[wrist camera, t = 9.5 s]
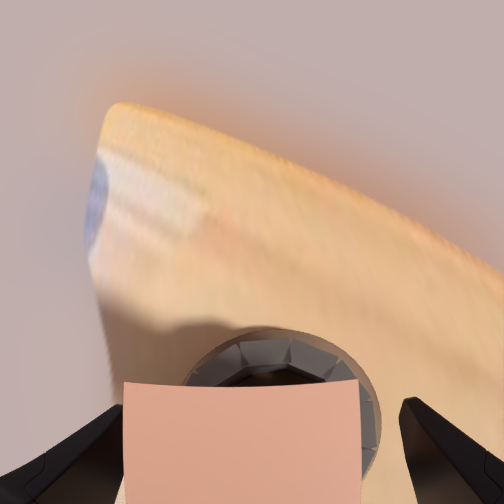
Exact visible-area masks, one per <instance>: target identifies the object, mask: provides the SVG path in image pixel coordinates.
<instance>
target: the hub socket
mask: <svg viewBox="0 0 504 504" xmlns="http://www.w3.org/2000/svg"><path fill="white" fill-rule="evenodd" d="M354 379H358V383H359V398H360V418H361V450H362V480H363V479H364V478H365V476H366V475H367V473H368V471H369V470H370V468H371V466H372V464H373V461H374V459H375V457H376V454H377V451H378V447H379V443H380V437H381V412H380V406H379V402H378V399H377V395H376V392H375V390H374V388H373V386H372V384H371V382H370V380H369V378H368V377H367V375H366V374H365V372H364V371H363V369H362V368H361V367H360V366H359V365H358V364H357V362H356V361H355V360H354V359H353V358H352V357H350V356H349V355H348V354H347V353H346V352H345V351H343V350H342V349H340V348H339V347H337V346H336V345H334V344H333V343H331V342H329V341H327V340H324V339H322V338H320V337H317V336H314V335H311V334H308V333H304V332H299V331H294V330H282V329H279V330H264V331H257V332H252V333H249V334H245V335H241V336H239V337H236V338H234V339H232V340H229V341H227V342H225V343H224V344H222V345H220V346H218V347H217V348H215V349H214V350H213V351H211V352H210V353H208V354H207V355H206V356H205V357H204V358H203V359H202V360H201V361H200V362H198V363H197V364H196V366H195V367H194V368H193V369H192V371H191V372H190V373H189V374H188V376H187V378H186V379H185V381H184V382H183V384H182V386H190V387H265V386H286V385H302V384H315V383H326V382H336V381H345V380H354Z"/></svg>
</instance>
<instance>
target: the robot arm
mask: <svg viewBox="0 0 504 504" xmlns="http://www.w3.org/2000/svg"><path fill="white" fill-rule="evenodd" d="M399 425H400V430H401V436H402V441H403V447H404V453H405V459H406V463H407V466H408V470H409V473H410V477H411V480H412V484H413V487H414V491H415V495H416V498H417V502H418V504H504V462H503V461H502V460H500V459H499V458H497V457H496V456H494V455H493V454H492V453H490V452H489V451H486V449H485V448H484V447H482V446H481V445H479V444H478V443H477V442H476V441H474V440H473V439H472V438H470V437H469V436H468V435H466V434H465V433H464V432H462V431H461V430H460V429H458V428H457V427H456V426H454V425H453V424H452V423H450V422H449V421H448V420H446V419H445V418H444V417H442V416H441V415H440V414H438V413H437V412H436V411H435V410H433V409H432V408H431V407H429V406H428V405H427V404H425V403H424V402H423V401H421V400H420V399H419V398H417V397H410V398H406V399H404V401H403V403H402V407H401V410H400V414H399ZM123 476H124V462H123V405H121V404H116V405H114V406H113V407H111V408H110V409H109V410H107V411H106V412H104V413H103V414H101V415H100V416H98V417H97V418H96V419H94V420H93V421H91V422H90V423H88V424H87V425H86V426H84V427H82V428H81V429H80V430H78V431H77V432H75V433H74V434H72V435H71V436H69V437H68V438H66V439H65V440H63V441H62V442H60V443H59V444H57V445H56V446H54V447H53V448H51V449H49V450H48V451H46V453H43V454H42V455H40V456H39V457H37V458H35V459H34V460H32V461H30V462H29V463H27V464H25V465H23V466H21V467H20V468H18V469H16V470H13V471H11V472H9V473H8V474H5V475H3V476H1V477H0V504H114V503H115V500H116V497H117V494H118V491H119V488H120V485H121V482H122V479H123Z"/></svg>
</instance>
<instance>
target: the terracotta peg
mask: <svg viewBox="0 0 504 504" xmlns="http://www.w3.org/2000/svg"><path fill="white" fill-rule="evenodd" d="M123 462H124V483H125V498H126V504H361V491H362V450H361V418H360V398H359V383H358V379H354V380H345V381H336V382H326V383H315V384H302V385H286V386H265V387H190V386H169V385H153V384H141V383H130V382H124V393H123Z"/></svg>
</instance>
